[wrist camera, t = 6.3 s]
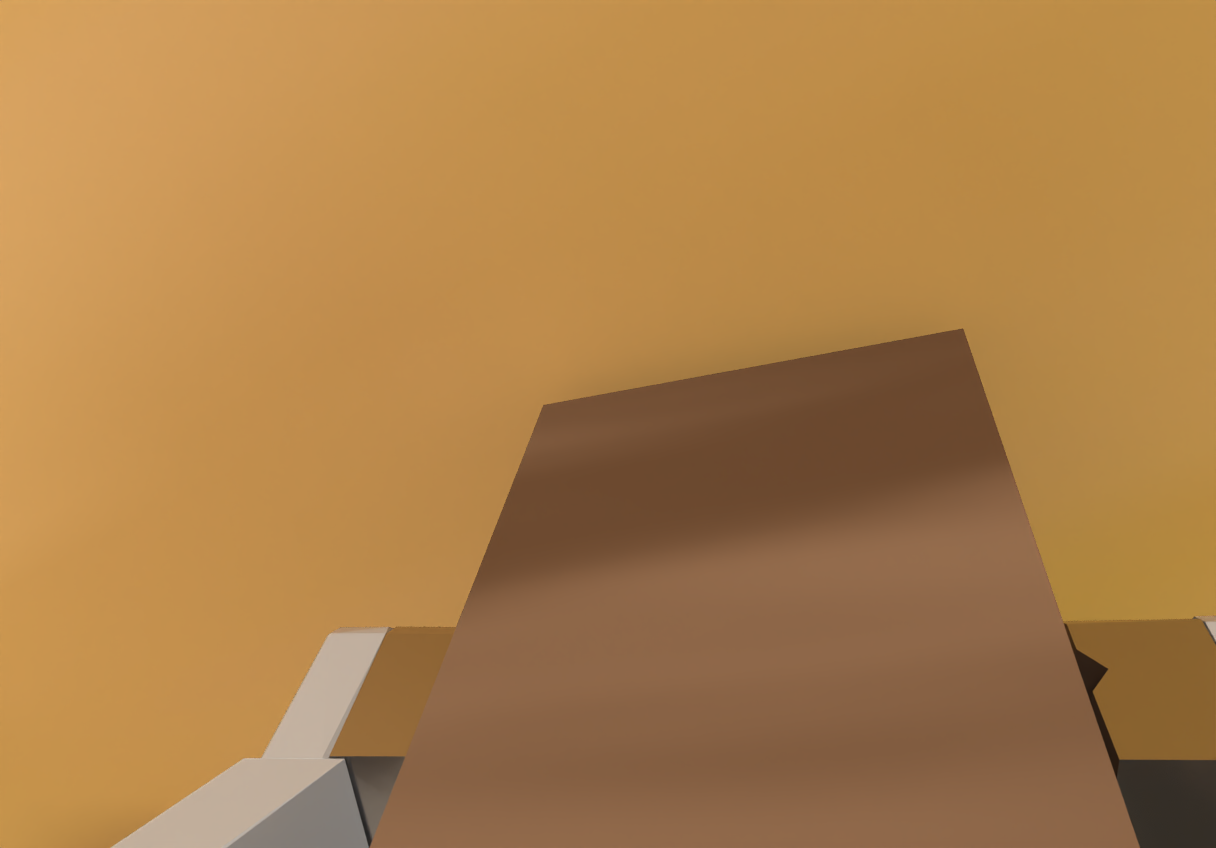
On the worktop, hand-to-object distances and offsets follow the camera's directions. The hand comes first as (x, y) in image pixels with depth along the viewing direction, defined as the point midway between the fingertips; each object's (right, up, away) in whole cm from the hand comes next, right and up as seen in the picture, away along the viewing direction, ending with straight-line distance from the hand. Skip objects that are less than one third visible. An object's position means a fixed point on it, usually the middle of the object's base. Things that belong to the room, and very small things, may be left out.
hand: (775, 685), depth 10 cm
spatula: (+2, -5, +5) cm, 7 cm away
